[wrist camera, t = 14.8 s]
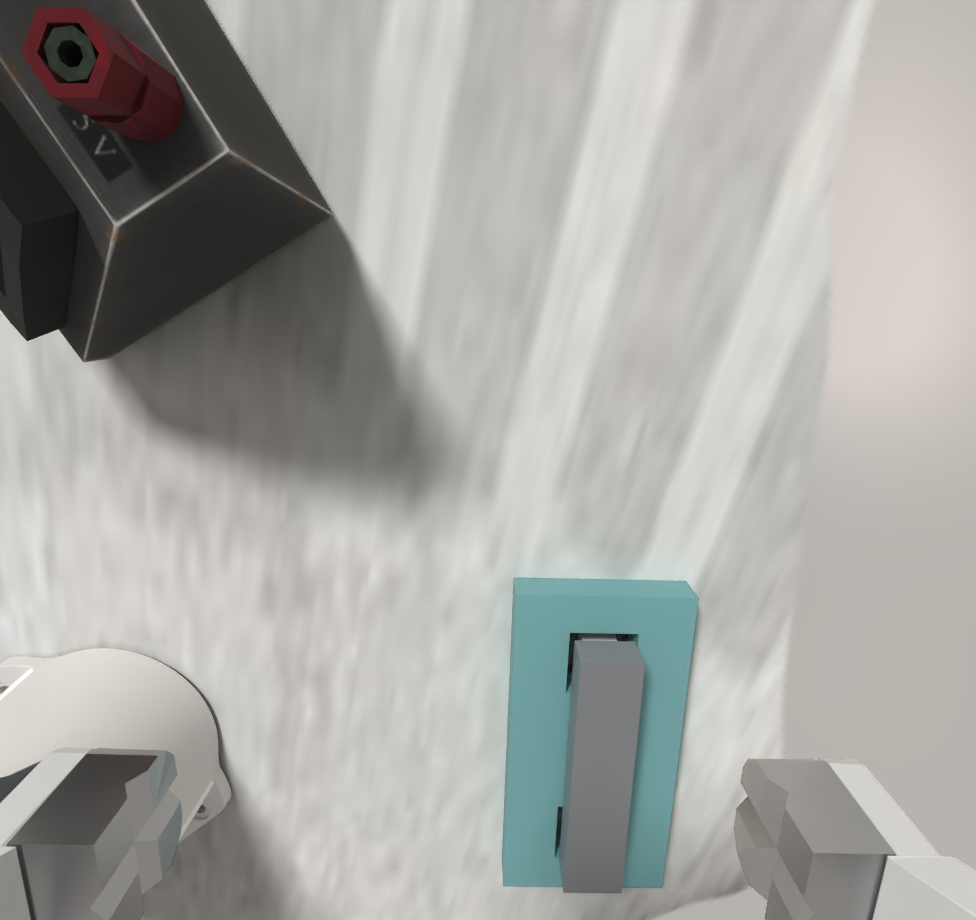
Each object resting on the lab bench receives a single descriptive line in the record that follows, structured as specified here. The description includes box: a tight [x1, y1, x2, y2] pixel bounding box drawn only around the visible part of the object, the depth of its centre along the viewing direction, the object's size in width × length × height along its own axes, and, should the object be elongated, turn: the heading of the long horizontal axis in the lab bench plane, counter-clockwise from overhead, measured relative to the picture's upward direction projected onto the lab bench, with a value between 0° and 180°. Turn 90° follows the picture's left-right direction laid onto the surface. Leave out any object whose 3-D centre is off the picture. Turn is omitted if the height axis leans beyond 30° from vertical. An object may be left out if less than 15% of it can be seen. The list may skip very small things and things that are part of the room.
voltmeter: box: [0, 0, 333, 362], centre depth 25 cm, size 16×16×20 cm
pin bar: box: [559, 633, 645, 893], centre depth 42 cm, size 18×4×6 cm, turn 178°
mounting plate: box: [502, 578, 699, 888], centre depth 44 cm, size 24×12×2 cm, turn 178°
